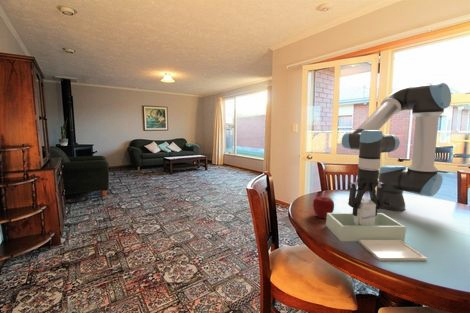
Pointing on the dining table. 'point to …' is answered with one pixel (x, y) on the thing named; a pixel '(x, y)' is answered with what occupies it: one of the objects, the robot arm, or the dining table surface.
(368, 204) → the ink box
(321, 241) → the dining table surface
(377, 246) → the tray
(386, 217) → the box
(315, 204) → the apple
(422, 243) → the dining table surface
